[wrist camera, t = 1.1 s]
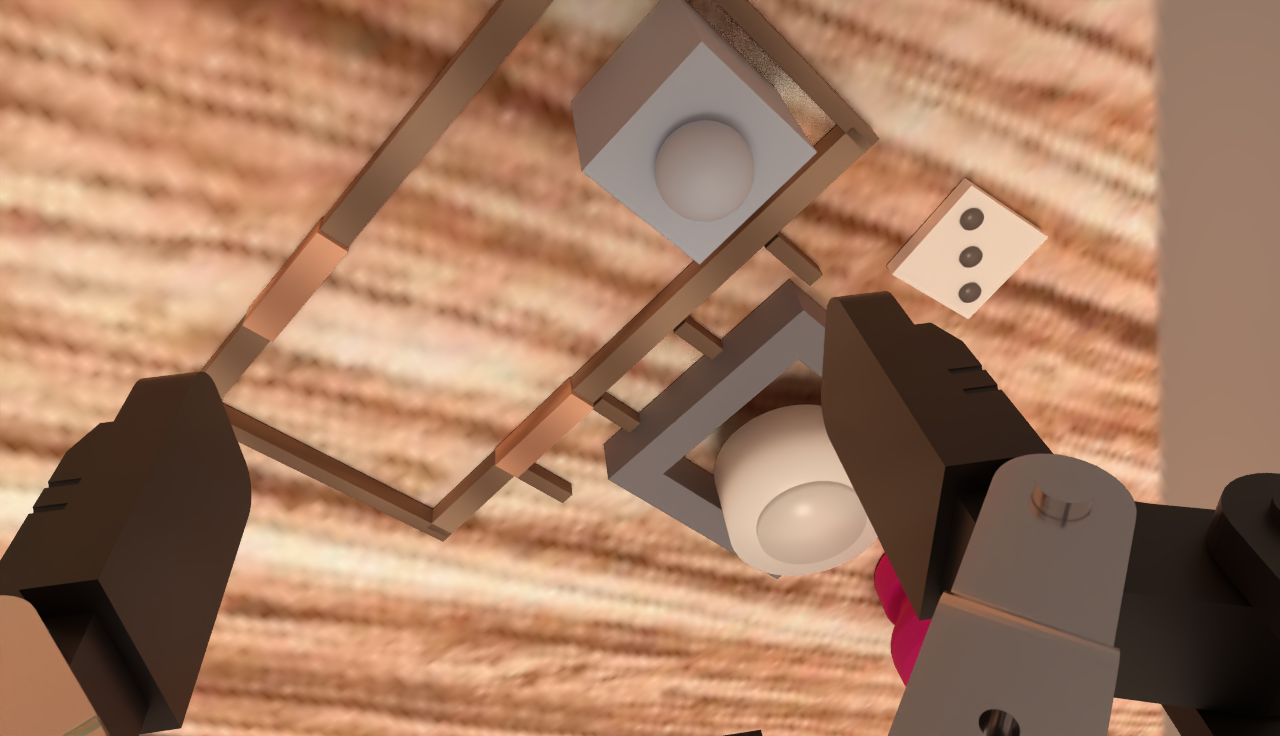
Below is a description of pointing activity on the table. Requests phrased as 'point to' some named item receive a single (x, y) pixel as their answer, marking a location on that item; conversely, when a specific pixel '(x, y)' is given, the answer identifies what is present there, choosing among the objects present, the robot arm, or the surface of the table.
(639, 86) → the cube with round knob
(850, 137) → the open rectangular frame
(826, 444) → the dome
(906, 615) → the pepper mill
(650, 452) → the gray square frame
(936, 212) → the die tile
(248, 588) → the table surface
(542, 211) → the table surface
